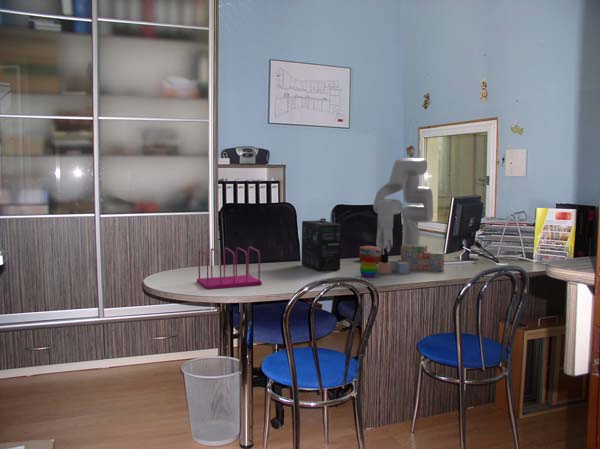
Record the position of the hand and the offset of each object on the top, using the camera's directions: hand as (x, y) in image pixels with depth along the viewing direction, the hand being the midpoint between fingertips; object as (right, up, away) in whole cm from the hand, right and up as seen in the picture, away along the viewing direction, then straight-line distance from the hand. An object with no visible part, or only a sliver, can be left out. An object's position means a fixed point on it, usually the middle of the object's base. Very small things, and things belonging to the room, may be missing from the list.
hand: (384, 262), depth 266 cm
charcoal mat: (+3, -5, +6) cm, 8 cm away
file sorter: (-73, -8, -25) cm, 78 cm away
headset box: (-31, -4, +18) cm, 36 cm away
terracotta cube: (0, -5, +1) cm, 5 cm away
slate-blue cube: (+9, -5, +2) cm, 11 cm away
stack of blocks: (+22, -5, +15) cm, 27 cm away
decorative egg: (-9, -7, -9) cm, 14 cm away
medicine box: (0, -3, +40) cm, 40 cm away
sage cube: (+5, -5, +10) cm, 12 cm away
